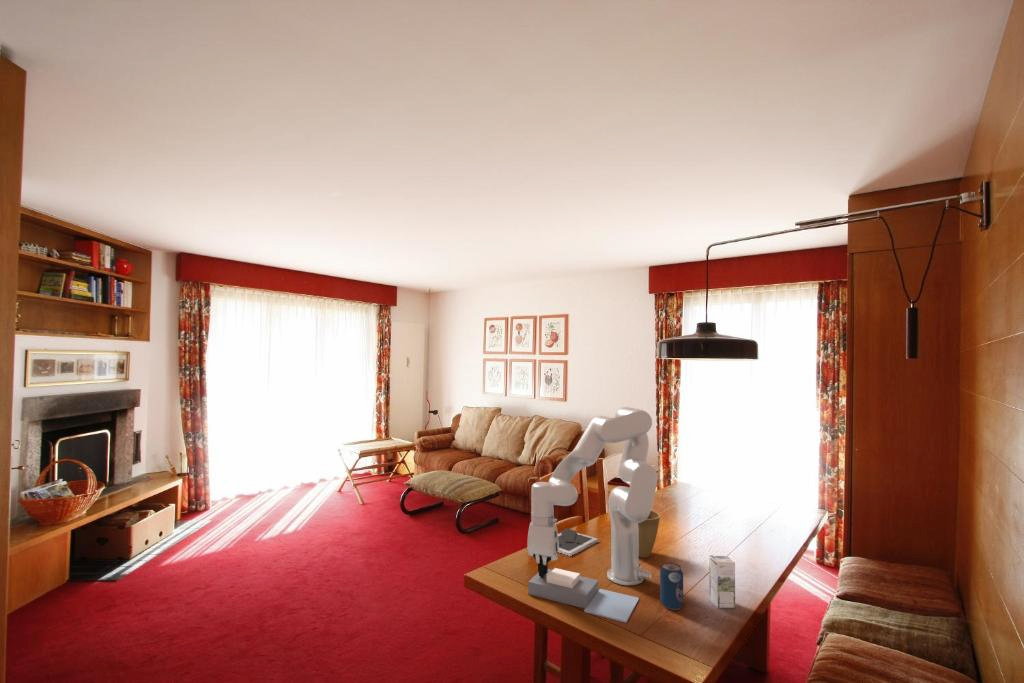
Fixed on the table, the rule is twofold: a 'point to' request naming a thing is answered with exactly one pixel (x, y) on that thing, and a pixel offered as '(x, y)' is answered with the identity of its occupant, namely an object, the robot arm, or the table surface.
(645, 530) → the plant pot
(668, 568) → the soda can
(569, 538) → the picture frame
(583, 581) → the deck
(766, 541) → the table surface
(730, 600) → the syrup box
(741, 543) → the table surface
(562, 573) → the white flat block
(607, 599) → the mat
